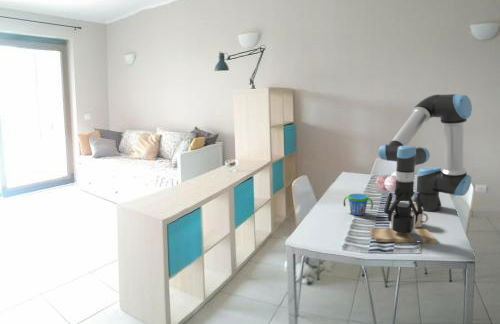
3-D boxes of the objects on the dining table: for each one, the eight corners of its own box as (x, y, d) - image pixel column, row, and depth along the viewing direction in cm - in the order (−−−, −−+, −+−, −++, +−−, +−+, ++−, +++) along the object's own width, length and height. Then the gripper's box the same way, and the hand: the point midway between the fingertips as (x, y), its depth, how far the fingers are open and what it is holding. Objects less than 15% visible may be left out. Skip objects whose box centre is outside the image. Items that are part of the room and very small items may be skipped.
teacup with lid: (399, 224, 187) (400, 202, 185) (408, 220, 192) (409, 198, 190) (422, 230, 178) (424, 207, 175) (431, 226, 183) (433, 203, 181)
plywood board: (426, 232, 176) (426, 229, 176) (436, 243, 163) (437, 239, 163) (369, 231, 179) (370, 228, 178) (376, 241, 166) (376, 238, 166)
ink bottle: (407, 226, 175) (409, 201, 173) (416, 233, 166) (418, 207, 164) (387, 226, 175) (388, 202, 172) (395, 234, 166) (396, 208, 164)
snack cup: (340, 214, 204) (340, 196, 202) (347, 209, 213) (347, 191, 211) (368, 219, 195) (369, 200, 193) (374, 213, 204) (375, 195, 202)
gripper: (381, 182, 163) (379, 230, 168) (433, 182, 161) (429, 231, 165) (377, 178, 171) (375, 224, 175) (426, 178, 169) (423, 225, 173)
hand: (402, 228), depth 170 cm, fingers closed on ink bottle, 9 cm apart
